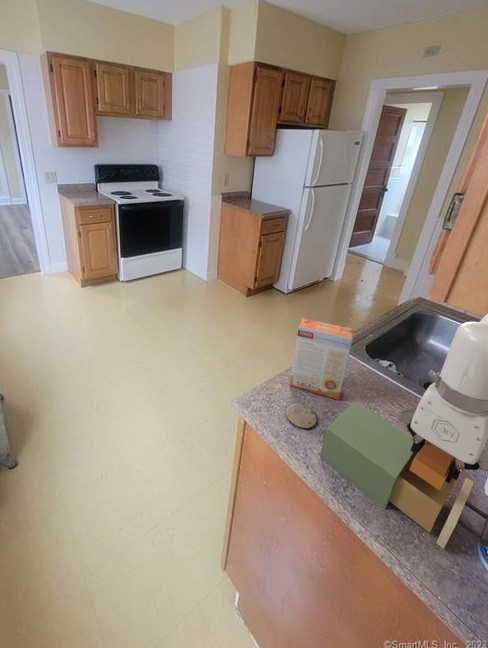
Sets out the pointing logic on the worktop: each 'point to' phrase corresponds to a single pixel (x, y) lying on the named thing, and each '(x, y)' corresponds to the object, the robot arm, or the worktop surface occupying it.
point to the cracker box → (321, 357)
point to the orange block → (432, 464)
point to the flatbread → (301, 415)
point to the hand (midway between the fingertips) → (432, 465)
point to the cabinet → (367, 451)
